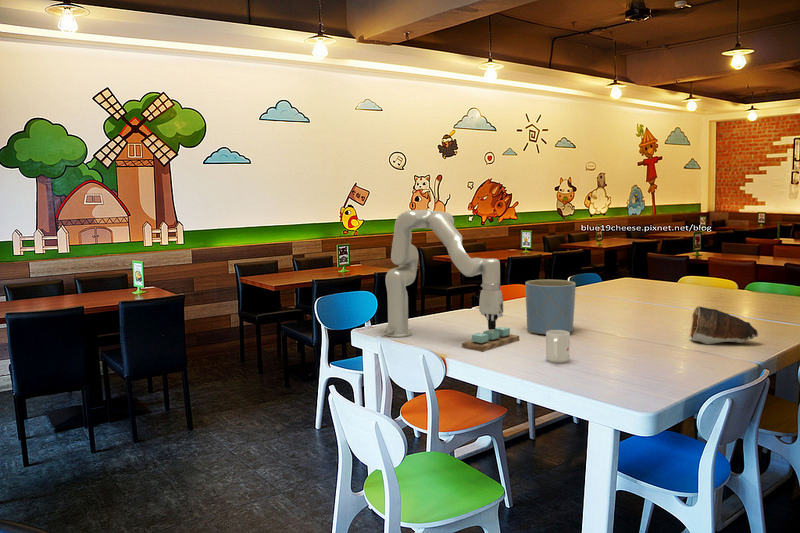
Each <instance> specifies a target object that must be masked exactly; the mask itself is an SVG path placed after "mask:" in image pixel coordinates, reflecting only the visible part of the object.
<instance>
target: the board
mask: <svg viewBox="0 0 800 533" xmlns="http://www.w3.org/2000/svg"><path fill="white" fill-rule="evenodd" d="M518 341H520V335H518V334H517V335H516V334H512V333H510V335H506V336H499V338H496V339H493V340H492V339H488V341H486V342H483V343H478V342H473V341H472V339H471V340H468V341H464V342H462V343H461V348H462V349H466V350H467V349H468V350H472V351H477V352H482V353H483V352H486V351H490V350H492V349H497V348H499V347H502V346H506V345H508V344H511V343H515V342H518Z"/></svg>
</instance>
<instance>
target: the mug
mask: <svg viewBox="0 0 800 533" xmlns="http://www.w3.org/2000/svg"><path fill="white" fill-rule="evenodd" d="M570 337H571V332H567V331H563V330H550V331H547V332H546V334H545V358H546V360H547V361H548V362H550V363H554V364H564V363H567V362H568V361H570V357H571V356H570V353H571V352H570V351H571V350H570V348H571V347H570V346H571V345H570V344H571V338H570Z"/></svg>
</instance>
